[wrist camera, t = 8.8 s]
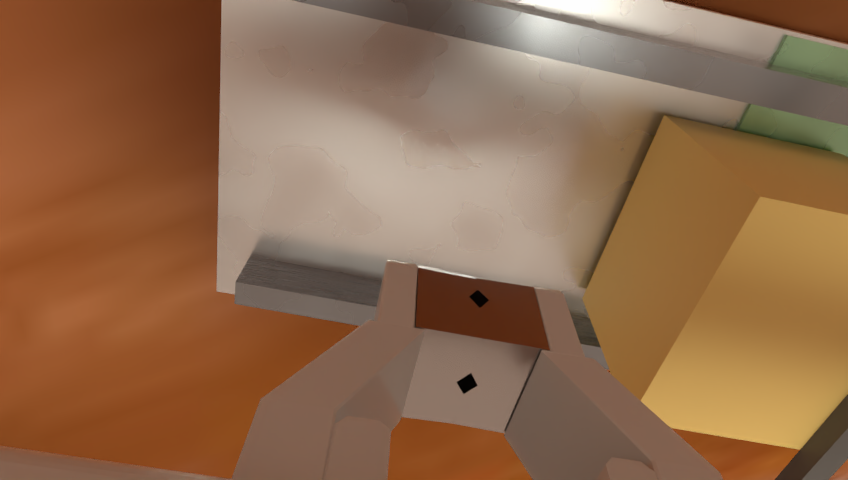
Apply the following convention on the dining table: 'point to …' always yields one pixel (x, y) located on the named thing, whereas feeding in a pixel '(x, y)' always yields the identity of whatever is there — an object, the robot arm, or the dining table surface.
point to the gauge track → (475, 134)
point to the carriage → (733, 291)
